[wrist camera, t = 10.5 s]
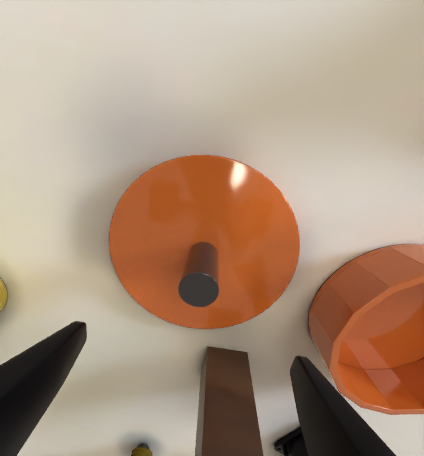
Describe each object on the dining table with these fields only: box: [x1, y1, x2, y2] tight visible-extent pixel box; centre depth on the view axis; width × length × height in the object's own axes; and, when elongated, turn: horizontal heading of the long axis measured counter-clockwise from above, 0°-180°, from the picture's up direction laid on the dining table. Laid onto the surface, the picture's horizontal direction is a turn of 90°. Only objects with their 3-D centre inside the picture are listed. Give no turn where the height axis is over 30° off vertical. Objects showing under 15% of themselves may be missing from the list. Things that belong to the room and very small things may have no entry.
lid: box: [109, 155, 299, 329], centre depth 14 cm, size 15×15×6 cm
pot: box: [309, 244, 424, 415], centre depth 17 cm, size 14×14×4 cm
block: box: [195, 347, 263, 456], centre depth 17 cm, size 4×4×8 cm
